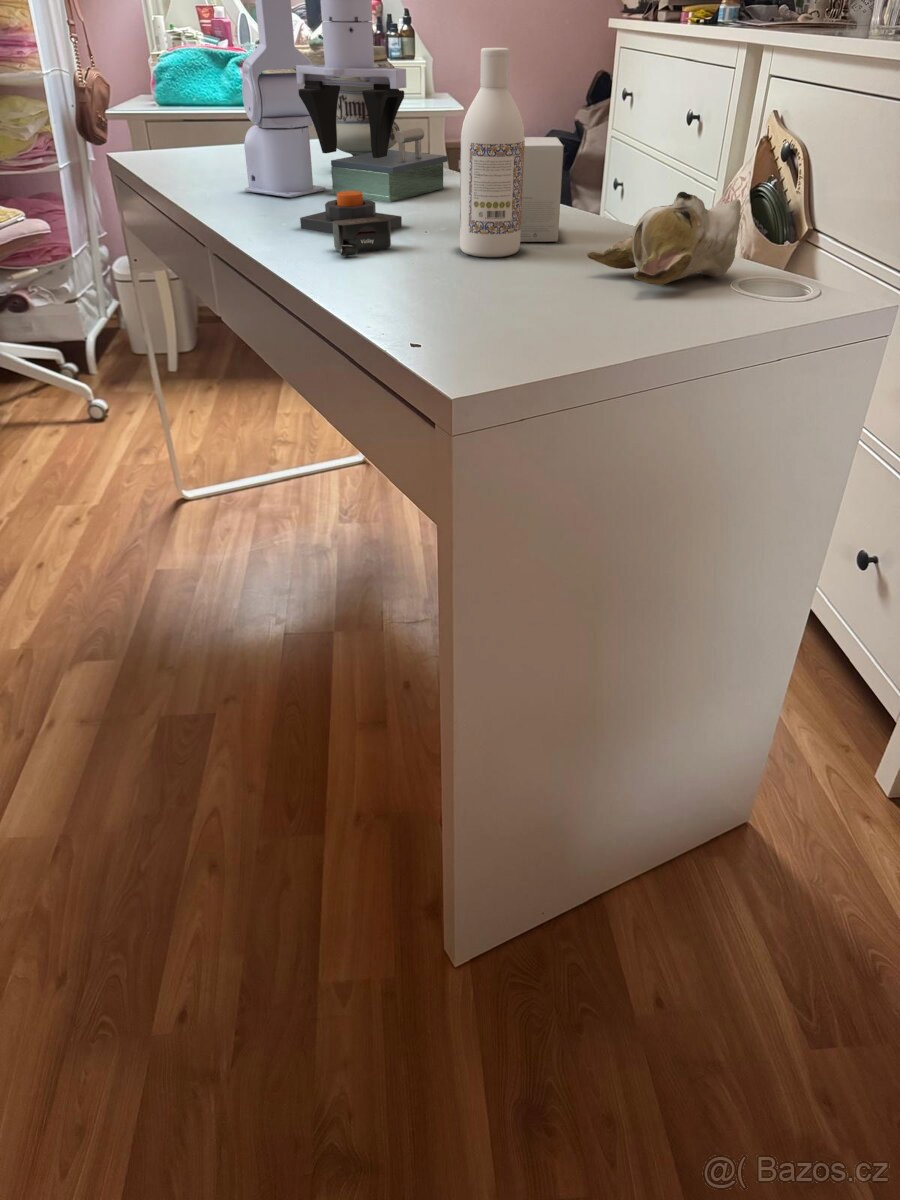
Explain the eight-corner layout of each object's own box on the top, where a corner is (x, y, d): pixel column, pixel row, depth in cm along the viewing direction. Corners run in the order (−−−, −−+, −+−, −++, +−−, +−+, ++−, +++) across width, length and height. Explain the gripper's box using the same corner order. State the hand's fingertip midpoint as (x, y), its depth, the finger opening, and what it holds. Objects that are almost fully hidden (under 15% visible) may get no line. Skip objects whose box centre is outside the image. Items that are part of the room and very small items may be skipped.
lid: (447, 161, 135) (447, 125, 132) (393, 173, 126) (392, 135, 123) (387, 155, 140) (386, 120, 137) (331, 166, 131) (328, 129, 128)
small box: (558, 243, 107) (564, 145, 101) (511, 242, 107) (515, 144, 101) (553, 228, 113) (558, 136, 108) (508, 228, 114) (512, 135, 108)
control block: (300, 229, 113) (298, 203, 111) (341, 218, 119) (340, 194, 117) (362, 239, 108) (361, 212, 107) (402, 227, 114) (401, 202, 112)
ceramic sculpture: (776, 190, 86) (642, 212, 82) (763, 282, 91) (636, 307, 87) (710, 175, 94) (585, 194, 90) (701, 260, 99) (583, 281, 95)
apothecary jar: (339, 165, 157) (331, 44, 147) (406, 166, 155) (404, 44, 145) (321, 176, 147) (312, 47, 137) (393, 177, 145) (389, 48, 135)
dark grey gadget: (326, 251, 103) (324, 221, 101) (383, 245, 106) (381, 216, 104) (341, 260, 100) (339, 229, 98) (399, 253, 102) (398, 223, 101)
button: (332, 207, 112) (331, 193, 111) (348, 202, 114) (347, 189, 113) (352, 209, 110) (351, 196, 109) (368, 205, 112) (367, 192, 111)
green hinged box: (443, 188, 137) (443, 161, 135) (389, 202, 128) (388, 173, 126) (388, 182, 142) (387, 155, 140) (333, 194, 133) (331, 166, 131)
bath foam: (530, 254, 102) (541, 49, 91) (476, 261, 99) (480, 50, 88) (501, 242, 107) (508, 46, 96) (449, 248, 105) (450, 47, 93)
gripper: (274, 21, 102) (286, 154, 109) (379, 23, 95) (384, 163, 103) (313, 21, 107) (322, 147, 114) (415, 22, 100) (417, 155, 108)
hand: (354, 154), depth 109 cm, fingers open, 7 cm apart
